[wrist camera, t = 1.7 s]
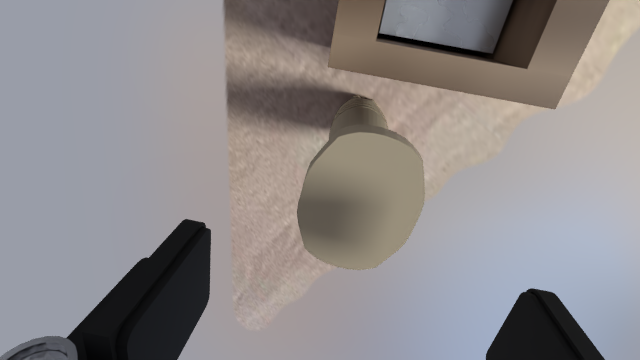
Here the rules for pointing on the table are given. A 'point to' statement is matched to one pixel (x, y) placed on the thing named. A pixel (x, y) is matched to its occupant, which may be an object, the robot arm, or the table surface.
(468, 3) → the dark glossy panel
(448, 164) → the table surface
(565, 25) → the sleeve
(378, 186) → the handle
